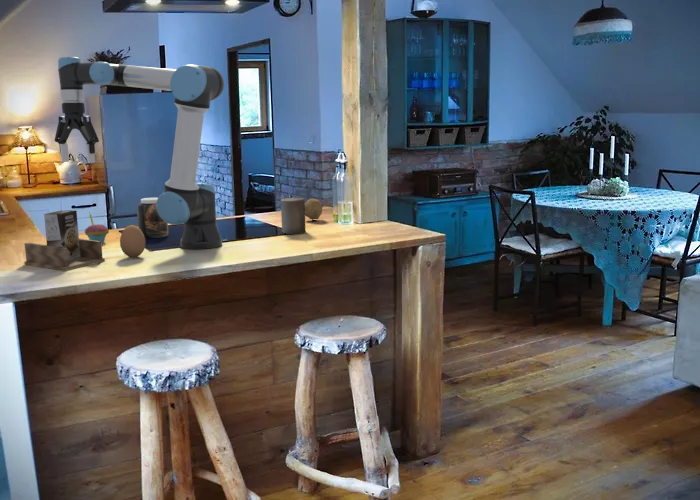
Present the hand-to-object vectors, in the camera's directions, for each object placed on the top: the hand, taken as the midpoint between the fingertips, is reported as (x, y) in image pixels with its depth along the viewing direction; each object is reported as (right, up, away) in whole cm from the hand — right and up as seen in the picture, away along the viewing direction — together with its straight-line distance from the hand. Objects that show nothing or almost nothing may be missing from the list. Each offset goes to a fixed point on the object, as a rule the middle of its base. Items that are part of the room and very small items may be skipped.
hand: (78, 162), depth 255 cm
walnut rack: (+3, -36, -20) cm, 41 cm away
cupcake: (+1, -29, +16) cm, 33 cm away
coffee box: (+3, -35, -20) cm, 40 cm away
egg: (+24, -34, -13) cm, 44 cm away
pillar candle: (+75, -25, +33) cm, 85 cm away
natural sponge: (+81, -19, +62) cm, 104 cm away
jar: (+19, -26, +29) cm, 44 cm away
